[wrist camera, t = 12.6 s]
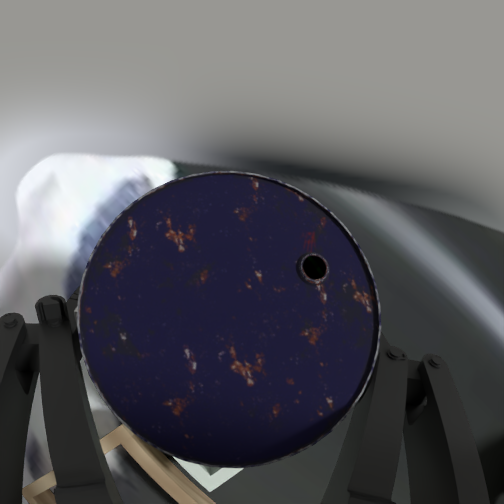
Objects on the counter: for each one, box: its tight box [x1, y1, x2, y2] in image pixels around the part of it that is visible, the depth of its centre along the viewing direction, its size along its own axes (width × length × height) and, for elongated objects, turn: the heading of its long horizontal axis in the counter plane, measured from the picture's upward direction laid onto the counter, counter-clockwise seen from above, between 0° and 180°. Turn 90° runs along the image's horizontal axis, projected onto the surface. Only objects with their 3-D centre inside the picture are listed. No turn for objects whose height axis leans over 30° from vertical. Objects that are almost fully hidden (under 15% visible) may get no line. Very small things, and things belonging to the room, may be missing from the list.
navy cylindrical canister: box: [77, 171, 381, 468], centre depth 15 cm, size 10×10×15 cm
